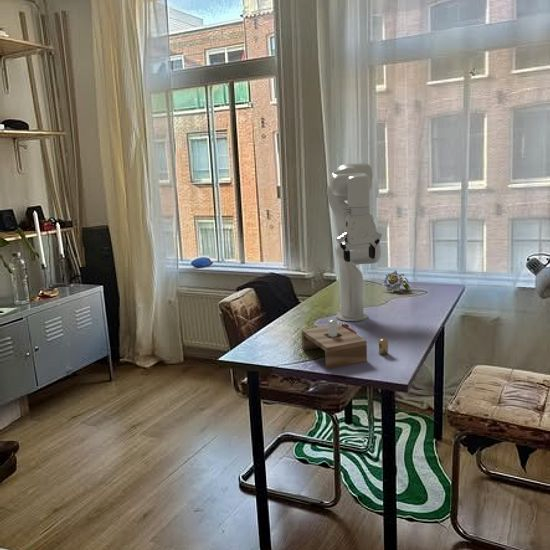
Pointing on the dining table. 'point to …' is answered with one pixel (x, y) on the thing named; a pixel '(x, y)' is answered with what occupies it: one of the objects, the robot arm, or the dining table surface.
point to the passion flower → (395, 282)
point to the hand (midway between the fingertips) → (359, 259)
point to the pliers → (346, 327)
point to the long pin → (332, 328)
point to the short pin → (383, 346)
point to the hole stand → (336, 345)
